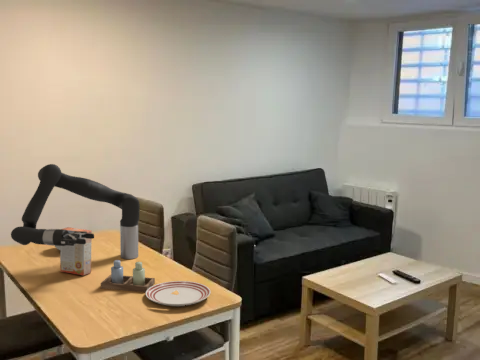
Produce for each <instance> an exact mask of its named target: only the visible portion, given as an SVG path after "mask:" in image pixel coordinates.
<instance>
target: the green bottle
mask: <svg viewBox="0 0 480 360" xmlns="http://www.w3.org/2000/svg"><path fill="white" fill-rule="evenodd" d="M134 266H135V267H134V268H133V269H132V276H133V285H140V286H145V277H146V269H145V268H144V267H143V261H136V262H135V263H134Z"/></svg>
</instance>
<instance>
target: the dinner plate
mask: <svg viewBox="0 0 480 360" xmlns="http://www.w3.org/2000/svg"><path fill="white" fill-rule="evenodd" d="M176 291H177V293H178V294H174V292H176ZM211 292H212V291H211V289H210V288H209V287H208V285H205V284H202V283H199V282H196V281H195V282H194V281H188V280H174V281H173V280H172V281H166V282H165V281H164V282H161V283H156V284H154V285H153V286H152V287H150V288H149V289H147V291H146V292H145V296H146V298H147V299H148V300H149V301H151V302H154V303H156V304H159V305H162V306H170V307H185V305H186V306H190V305H191V306H192V305H195V304H197V303H200V302H203V301H204V300H206V299H207V298H208V297H210V295H211Z"/></svg>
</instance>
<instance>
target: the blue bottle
mask: <svg viewBox="0 0 480 360" xmlns="http://www.w3.org/2000/svg"><path fill="white" fill-rule="evenodd" d="M121 263H122V262H121V260H119V259H115V260H113V265H112V266H111V267H110V272H111V273H110V275H111V283H116V284H123V276H124V267H123V265H121Z"/></svg>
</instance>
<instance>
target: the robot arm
mask: <svg viewBox="0 0 480 360" xmlns="http://www.w3.org/2000/svg"><path fill="white" fill-rule="evenodd" d="M37 177H38V180H39V184H38V186H37V188H36V191H35V192H34V194H33V196H32V197H31V198H30V200H29V201H28V203H27V206H26V207H25V209H24V212H23V214H22V216H21V222H22V223H23V226H17V227H15V228H13V229H12V231H11V232H10V237H11V239H12V240H13V241H14V242H16V243H17V244H20V245H23V246H28V245H29V244H32V243H33V244H35V245H46V246H53V247H55V246H66V245H68V246H74V244H75V245H76V244H86V239H84V238H88V239H93V240H94V239H95V234H94V233H92V234H90V233H87V232H86V231H74V233H71V234H70V233H69V232H68V231H67V230H66V229H64V228H61V229H59V228H37V224H38V222H39V219H40V217H41V215H42V212H43V210H44V208H45V205H46V204H47V203H46V202H47V201H48V199H49V197H50V195H51V193H52V191H53V190H54V188H59V189H63V190H66V191H67V192H70V193H73V194H75V195H78V196H81V197H82V198H86V199H87V200H92V201H95V202H101V203H107V204H109V205H112V206H114V207H117V208H119V209H121V219H120V221H119V223H120V225H119V229H120V230H119V233H120V234H119V237H120V238H119V239H120V242H119V243H120V245H119V246H120V258H121V259H124V260H132V259H136V258H138V257H139V220H140V209H141V208H140V200H139V199H138V198H137V197H136V196H134V194H133V195H132V194H131V193H127V192H122V191H118V190H114V189H112V188H110V187H108V186H106V185H104V184H103V183H100V182H98V181H95V180H91V179H90V178H87V177H81V176H72V175H69V174H66V173H64V172H62V169H61V168H60V167H59V166H58V165H56V164H54V163H50V164H45V166H43V167H41V168H40V169H39V171H38V172H37ZM83 234H84V235H83Z"/></svg>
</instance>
